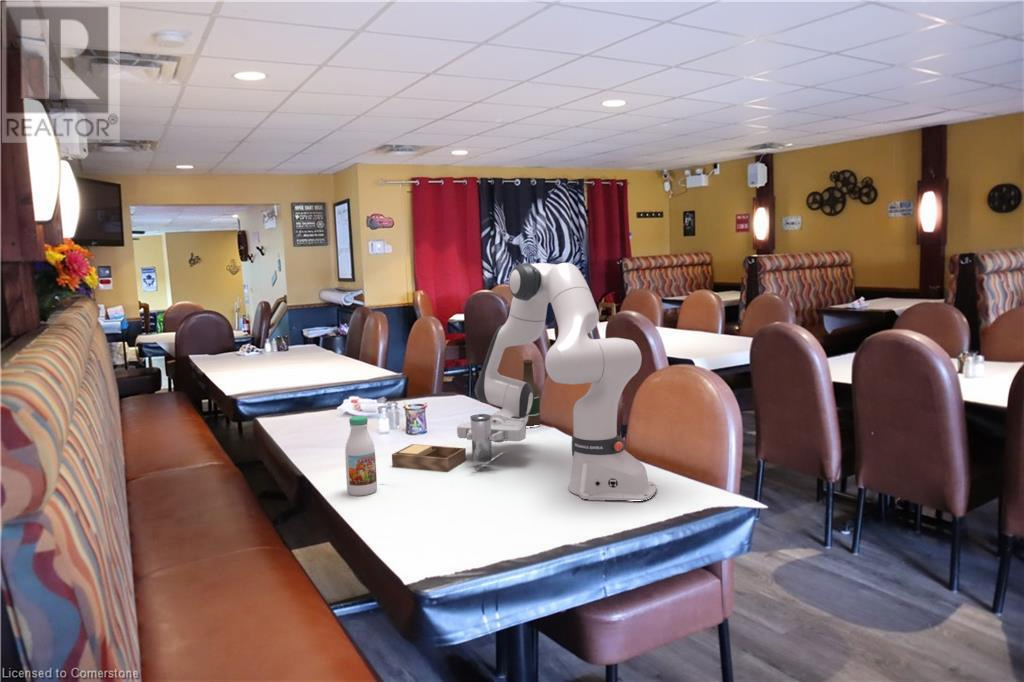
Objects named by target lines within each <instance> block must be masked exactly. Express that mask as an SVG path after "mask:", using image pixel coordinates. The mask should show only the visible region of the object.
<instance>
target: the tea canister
mask: <svg viewBox="0 0 1024 682" xmlns="http://www.w3.org/2000/svg"><path fill="white" fill-rule="evenodd" d="M490 415H491V414H487V413H479V414H473V415H472V414H471V415H470V422H471V434H472V440H471V455H472V461H473V462H476V463H486V462H490V461H492V460H493V447H492V441H489V435H491V421H490V418H491V416H490Z"/></svg>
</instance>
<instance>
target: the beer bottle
mask: <svg viewBox="0 0 1024 682" xmlns="http://www.w3.org/2000/svg"><path fill="white" fill-rule="evenodd" d="M533 361H534V360H532V359H524V360H522V364H523V373H522V376H523V377H522V381H523V382H526V383H529V385H530V386H531V388H532V390H533V393H534V402H533V406H532V409H531V412H530V413H529V414H528V421H527V423H526V426H534V425H541V415H540V414H541V413H540V412H541V411H540V409H541V408H540V407H541V406H540V391H539V388H538V385H537V384H536V383H535V380H534V379H535V378H534V369H533V363H534V362H533Z"/></svg>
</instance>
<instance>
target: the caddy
mask: <svg viewBox="0 0 1024 682" xmlns="http://www.w3.org/2000/svg"><path fill="white" fill-rule="evenodd" d="M413 445H419V444H418V443H415V444H414V443H411V444H410V445H408V446H405V447H404V448H401V449H399V450H398V451H394V452H393V453H392V454H391V461H392V462H391V464H392V468H400V469H402V468H403V469H410V470H411V469H412V470H420V471H421V470H422V471H432V472H433V471H434V472H443V473H448V472H450V471H452V470H454V469H455V468H457V467H458V466H460V465H461V464H463V463H464V462H466V461H467V455H466V454H467V453H466V451H467V449H466V447H455V446H454V447H453V446H443V445H442V446H441V445H440V446H439V445H428V444H424V445H425V446H432V451H430V452H428V453H426V454H424V455H423V456H415V455H404V454H399V452H401V451H403V450H405V449H407V448H409V447H411V446H413Z"/></svg>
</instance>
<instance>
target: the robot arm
mask: <svg viewBox="0 0 1024 682" xmlns="http://www.w3.org/2000/svg"><path fill="white" fill-rule="evenodd" d="M508 287H509V291H510V293H511V294H512V298H511V299H512V300H511V302H510V309H509V314H508V317H507V320H506V321H505V323H504V324H502V325H499V326H498V327H497V329H496V331H495V332H494V334H493V337H492V340H491V342H490V344H489V347H488V350H487V353H486V356H485V360H484V362H483V366H482V369H481V371H480V374H479V375H478V378H477V380H476V382H475V386H474V393H475V396H476V398H477V399H478V401H479V402H480V403H481V404H482V403H483V404H488V405H493V406H497V407H498V408H499V407H500V408H501V409H500V410H498V411H496V412H494V413H492V414H489V415H490V416H491V418H490V421H491V435H489V441H491V442H494V443H504V442H522V441H524V440H525V439H526V437H527V433H526V432H527V428H526V423H527V421H528V414H529V413H530V412H531V409H532V406H533V402H534V393H533V390H532V388H531V386H530V385H529V383H526V382H523V380H519V379H517V378H512V377H508V376H506V375H502V374H500V373H499V371H498V370H499V367H500V364H501V361H502V357H503V355H504V352H505V350H506V349H507V348H509V347H516V346H517V347H518V346H525V345H528V344H531V343H534V342H536V341H537V340H538V339H540V337H541V336H542V334H543V331H544V329H545V325H546V319H547V312H548V305H549V303H550V304H551V307H552V310H553V313H554V316H555V321H556V324H557V327H558V332H557V333H558V336H557V339H556V340H555V342H554V343H553V344H552V345H551V346H550V347H549V349H548V350H547V352H546V355H545V360H544V367H545V370H546V371H545V372H546V373H547V375H548V377H549V378H550V379H551V380H552V381H553V382H555V383H557V384H564V385H580V384H591V385H590V387H589V389H588V391H587V392H586V393H585V394H584V395H583V396H582V397H580V398H579V399H577V401H575V403H574V405H573V408H572V419H573V421H572V423H573V427H572V428H573V429H572V431H573V434H572V435H571V453H572V465H571V466H572V469H571V474H570V475H571V476H570V480H569V484H568V487H567V488H568V489H567V490H568V491H570V492H571V493H572V494H574V495H577V496H578V497H580V498H581V499H582V498H583V499H582V500H584V499H588V500H587V501H605V500H641V501H642V500H646V499H648V498H650V497H652V496H653V495H654V494H655V492H656V493H657V491H656V489H657V485H656V483H655V482H653V481H649V479H648V473H647V470H646V467H645V465H644V464H643V463H642V462H641V461H640V460H638V458H636V457H634V456H633V455H632V454H631V453H629V452H628V451H627V450H626V449H625V444H626V443H625V442H626V437H625V436H624V437H623V438H622V437H621V436H620V435H618V433H617V430H618V427H617V423H618V421H617V420H618V407H619V402H620V398H621V395H622V393H623V391H624V389H625V387H626V385H627V384H628V383H629V381H630V380H632V378H633V377H634V376H636V374H637V373H638V372H639V371H640V368H641V365H642V360H643V359H642V358H643V357H642V352H641V349H640V348H639V346H638V345H637V344H636V342H635V341H633V340H632V339H627V338H621V337H607V338H590V337H589V335H588V334H590V333H591V332H592V331H594V329H595V328H596V327H597V325H598V323H599V319H600V313H599V309H598V308H597V304H596V303H595V300H594V299H595V298H594V297H593V294H592V292H591V289H590V287H589V285H588V283H587V281H586V279H585V277H584V275H583V273H582V271H581V270H580V269H579V268H578V267H577V266H576V265H575V264H573V263H570V262H561V263H558V264H557V263H556V264H554V263H549V262H548V263H547V262H539V263H538V262H536V263H535V262H534V263H530V262H525V263H524V262H523V263H519V264H516V265H515V266H514V267H513V268H512V270H511V271H510V274H509V277H508ZM456 433H457V437H458V438H459V439H467V440H468V441H472V434H471V421H467V422H464V423H462V424H459V425H457V426H456ZM657 490H658V489H657ZM655 495H656V494H655ZM655 495H654V496H655ZM654 496H653V497H654ZM653 497H652V498H653Z"/></svg>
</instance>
